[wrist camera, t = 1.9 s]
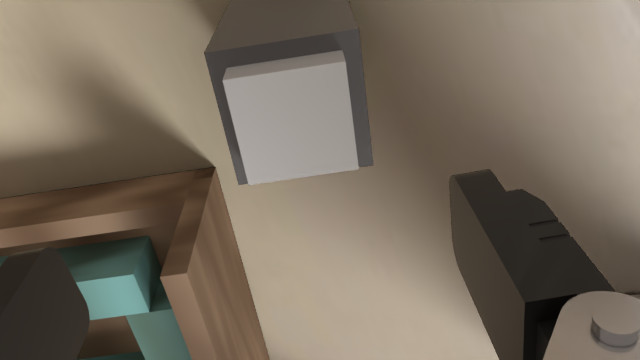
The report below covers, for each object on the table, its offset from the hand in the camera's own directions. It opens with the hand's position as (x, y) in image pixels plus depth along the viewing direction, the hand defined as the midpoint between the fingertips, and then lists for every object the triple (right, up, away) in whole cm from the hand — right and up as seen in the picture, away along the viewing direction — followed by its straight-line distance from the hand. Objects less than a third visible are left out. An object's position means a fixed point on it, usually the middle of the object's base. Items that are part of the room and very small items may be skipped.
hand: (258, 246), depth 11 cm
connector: (0, +8, +12) cm, 14 cm away
